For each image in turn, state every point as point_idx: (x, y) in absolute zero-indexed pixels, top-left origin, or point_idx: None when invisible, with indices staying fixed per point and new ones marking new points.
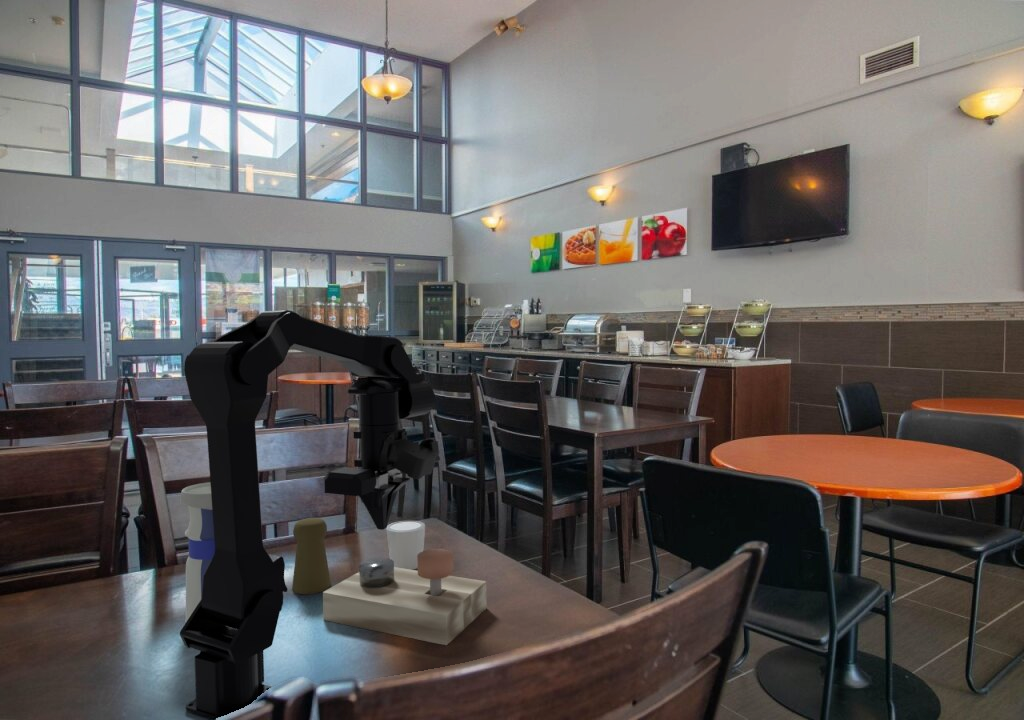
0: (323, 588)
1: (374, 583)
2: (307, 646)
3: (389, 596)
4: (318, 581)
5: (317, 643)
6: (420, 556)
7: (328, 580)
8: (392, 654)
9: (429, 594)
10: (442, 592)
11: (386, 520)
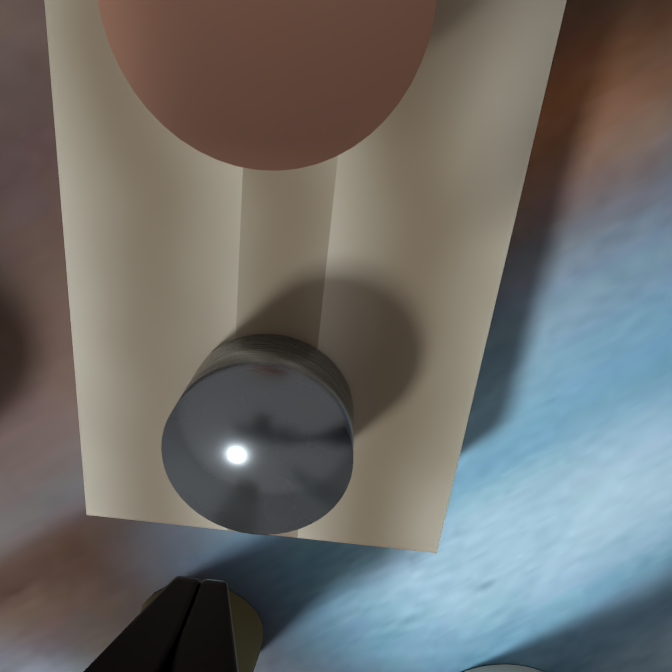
0: None
1: (347, 393)
2: (610, 432)
3: (418, 271)
4: None
5: (587, 414)
6: (341, 121)
7: None
8: (647, 106)
9: None
10: None
11: (172, 634)
